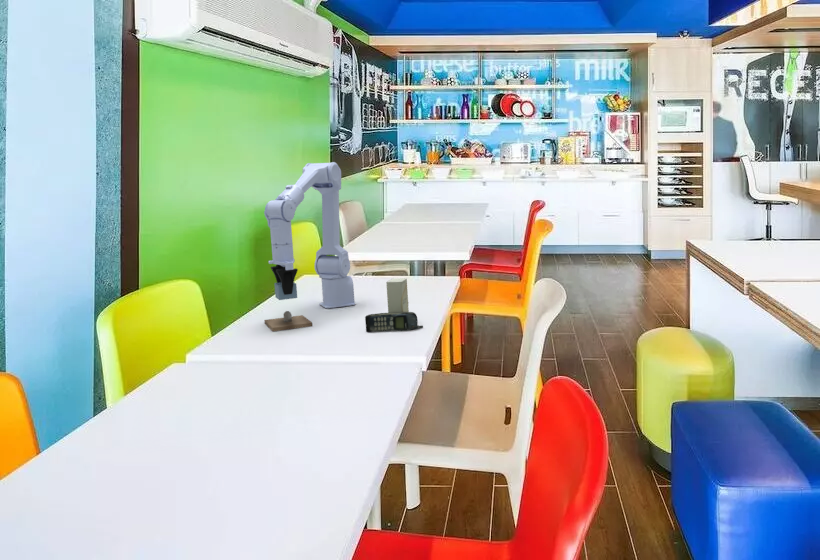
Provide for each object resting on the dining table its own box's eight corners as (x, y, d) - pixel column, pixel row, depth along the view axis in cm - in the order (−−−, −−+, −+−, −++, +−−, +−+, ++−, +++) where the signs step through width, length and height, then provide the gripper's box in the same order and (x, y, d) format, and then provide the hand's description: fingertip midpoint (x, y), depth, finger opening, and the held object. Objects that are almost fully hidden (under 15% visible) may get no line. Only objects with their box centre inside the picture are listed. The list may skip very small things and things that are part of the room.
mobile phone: (364, 315, 193) (422, 311, 193) (365, 313, 196) (421, 309, 196) (366, 334, 194) (423, 330, 194) (366, 331, 197) (422, 327, 197)
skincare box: (404, 326, 199) (401, 281, 196) (388, 326, 200) (385, 281, 198) (409, 321, 205) (407, 277, 203) (394, 320, 206) (391, 277, 204)
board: (302, 318, 214) (301, 305, 213) (312, 326, 204) (311, 312, 203) (264, 323, 210) (263, 310, 209) (272, 331, 200) (271, 317, 199)
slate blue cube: (293, 295, 209) (292, 281, 208) (297, 297, 204) (296, 283, 203) (275, 297, 207) (274, 283, 206) (279, 300, 202) (278, 285, 202)
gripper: (262, 242, 208) (266, 290, 210) (273, 247, 195) (277, 298, 197) (286, 240, 211) (290, 287, 213) (299, 245, 197) (303, 295, 200)
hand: (285, 292), depth 205 cm, fingers closed on slate blue cube, 5 cm apart
